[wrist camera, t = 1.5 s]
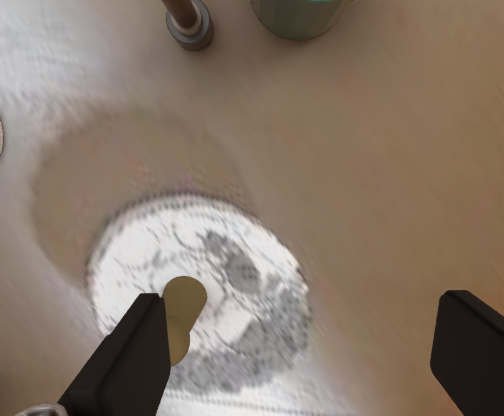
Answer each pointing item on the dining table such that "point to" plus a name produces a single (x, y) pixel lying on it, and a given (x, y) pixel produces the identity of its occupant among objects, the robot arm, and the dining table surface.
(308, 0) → the jar lid
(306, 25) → the jar
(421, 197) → the dining table surface
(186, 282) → the olive pawn
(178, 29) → the peg on round base
